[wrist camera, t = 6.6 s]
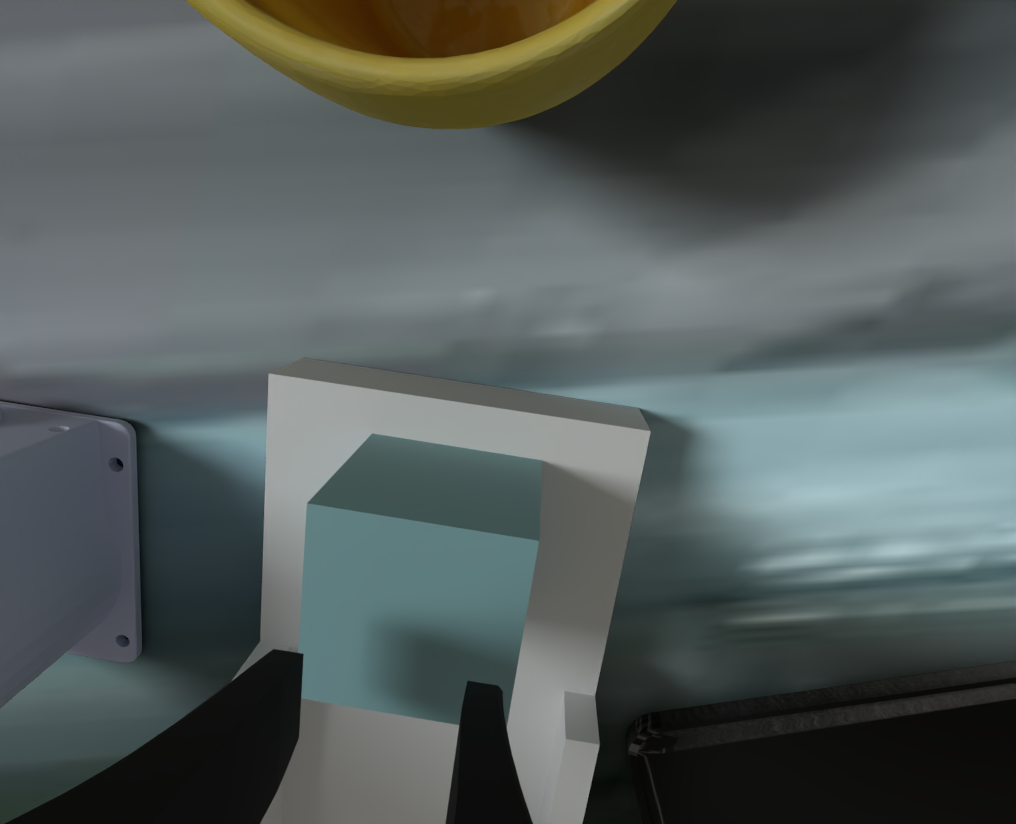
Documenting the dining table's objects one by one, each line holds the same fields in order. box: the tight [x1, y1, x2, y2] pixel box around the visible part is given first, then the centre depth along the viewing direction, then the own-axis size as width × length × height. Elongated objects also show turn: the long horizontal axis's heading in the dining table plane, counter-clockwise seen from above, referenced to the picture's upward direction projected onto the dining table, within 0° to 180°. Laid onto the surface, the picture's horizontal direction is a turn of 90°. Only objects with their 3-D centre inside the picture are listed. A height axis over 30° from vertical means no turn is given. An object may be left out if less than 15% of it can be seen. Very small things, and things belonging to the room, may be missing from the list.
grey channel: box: [232, 358, 651, 824], centre depth 21 cm, size 22×11×4 cm, turn 172°
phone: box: [626, 661, 1016, 824], centre depth 23 cm, size 8×1×15 cm
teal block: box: [298, 433, 542, 728], centre depth 16 cm, size 5×5×5 cm
